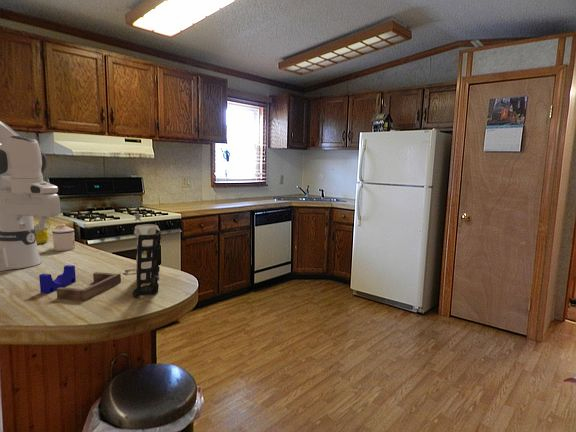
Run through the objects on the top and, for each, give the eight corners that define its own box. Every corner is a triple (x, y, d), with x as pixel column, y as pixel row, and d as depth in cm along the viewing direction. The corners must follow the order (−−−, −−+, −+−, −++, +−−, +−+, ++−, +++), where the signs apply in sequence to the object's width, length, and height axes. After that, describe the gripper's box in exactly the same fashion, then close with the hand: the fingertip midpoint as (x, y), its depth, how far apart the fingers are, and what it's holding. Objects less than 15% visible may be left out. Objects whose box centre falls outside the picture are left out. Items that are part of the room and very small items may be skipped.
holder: (139, 285, 129) (142, 227, 126) (162, 287, 129) (166, 230, 126) (128, 297, 118) (132, 234, 115) (153, 299, 118) (157, 237, 115)
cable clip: (64, 281, 133) (63, 264, 133) (75, 282, 133) (74, 265, 132) (36, 292, 122) (35, 274, 121) (48, 293, 121) (47, 275, 120)
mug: (17, 244, 188) (15, 220, 186) (37, 240, 198) (35, 217, 196) (37, 246, 184) (35, 221, 182) (57, 242, 194) (55, 218, 193)
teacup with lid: (79, 248, 180) (77, 224, 179) (57, 252, 173) (56, 226, 172) (68, 245, 188) (67, 221, 186) (47, 248, 181) (46, 223, 179)
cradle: (57, 298, 117) (56, 288, 116) (96, 280, 134) (95, 272, 134) (84, 300, 115) (84, 291, 115) (120, 282, 133) (120, 273, 132)
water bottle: (159, 282, 133) (156, 211, 129) (133, 283, 132) (130, 211, 128) (162, 275, 141) (160, 208, 137) (138, 276, 140) (135, 208, 136)
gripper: (-9, 186, 122) (-5, 229, 124) (47, 188, 119) (50, 232, 121) (9, 185, 129) (12, 226, 131) (62, 187, 125) (65, 228, 127)
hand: (31, 229), depth 126 cm, fingers open, 5 cm apart
